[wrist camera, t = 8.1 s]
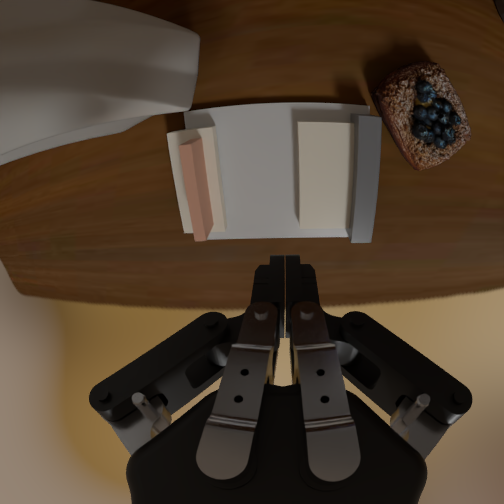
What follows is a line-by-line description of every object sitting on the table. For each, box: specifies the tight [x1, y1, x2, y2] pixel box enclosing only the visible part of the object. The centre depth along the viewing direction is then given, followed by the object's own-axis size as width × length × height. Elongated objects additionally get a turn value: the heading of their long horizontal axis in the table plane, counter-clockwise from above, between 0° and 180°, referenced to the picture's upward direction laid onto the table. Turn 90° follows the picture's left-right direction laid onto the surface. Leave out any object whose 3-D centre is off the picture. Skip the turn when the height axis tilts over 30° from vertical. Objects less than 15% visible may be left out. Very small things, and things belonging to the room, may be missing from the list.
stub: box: [167, 126, 227, 241], centre depth 28 cm, size 5×12×5 cm, turn 4°
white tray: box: [184, 102, 382, 243], centre depth 28 cm, size 20×16×4 cm
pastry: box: [371, 61, 471, 171], centre depth 22 cm, size 11×12×6 cm
